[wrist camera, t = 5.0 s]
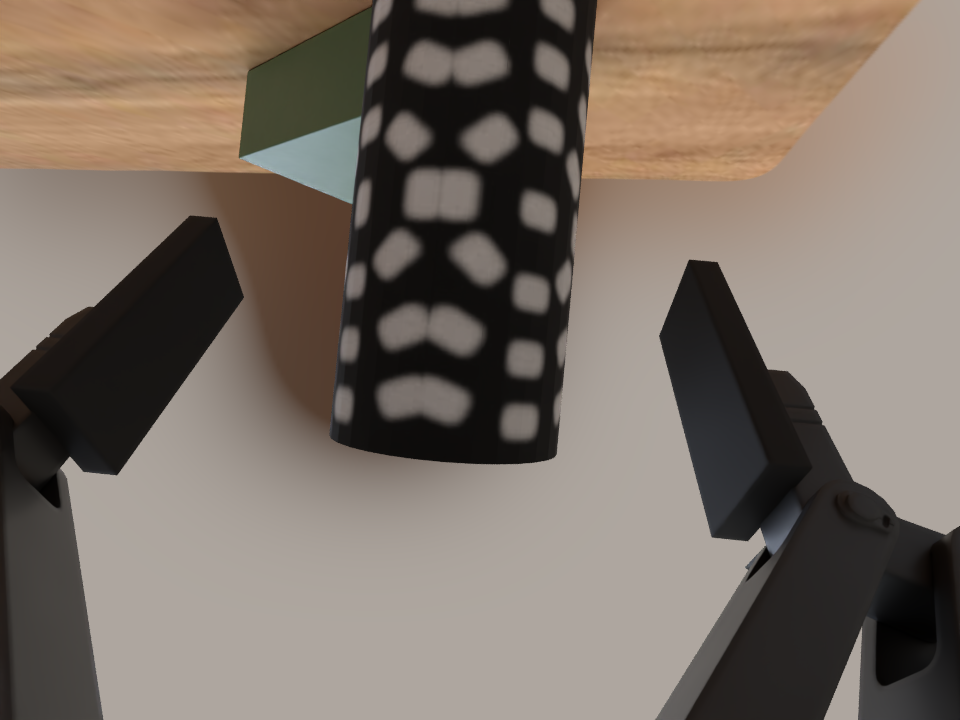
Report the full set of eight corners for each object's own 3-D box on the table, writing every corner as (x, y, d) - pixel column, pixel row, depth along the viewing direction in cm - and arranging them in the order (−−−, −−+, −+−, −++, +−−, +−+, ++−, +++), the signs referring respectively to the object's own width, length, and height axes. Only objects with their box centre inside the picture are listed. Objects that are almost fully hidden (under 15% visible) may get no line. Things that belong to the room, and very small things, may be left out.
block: (388, 150, 41) (382, 216, 41) (247, 71, 31) (238, 158, 31) (511, 117, 34) (504, 197, 34) (378, 2, 24) (366, 114, 24)
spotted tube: (652, -86, 18) (605, 459, 18) (506, 26, 25) (469, 426, 25) (469, -278, 13) (397, 470, 13) (348, -75, 20) (297, 424, 20)
